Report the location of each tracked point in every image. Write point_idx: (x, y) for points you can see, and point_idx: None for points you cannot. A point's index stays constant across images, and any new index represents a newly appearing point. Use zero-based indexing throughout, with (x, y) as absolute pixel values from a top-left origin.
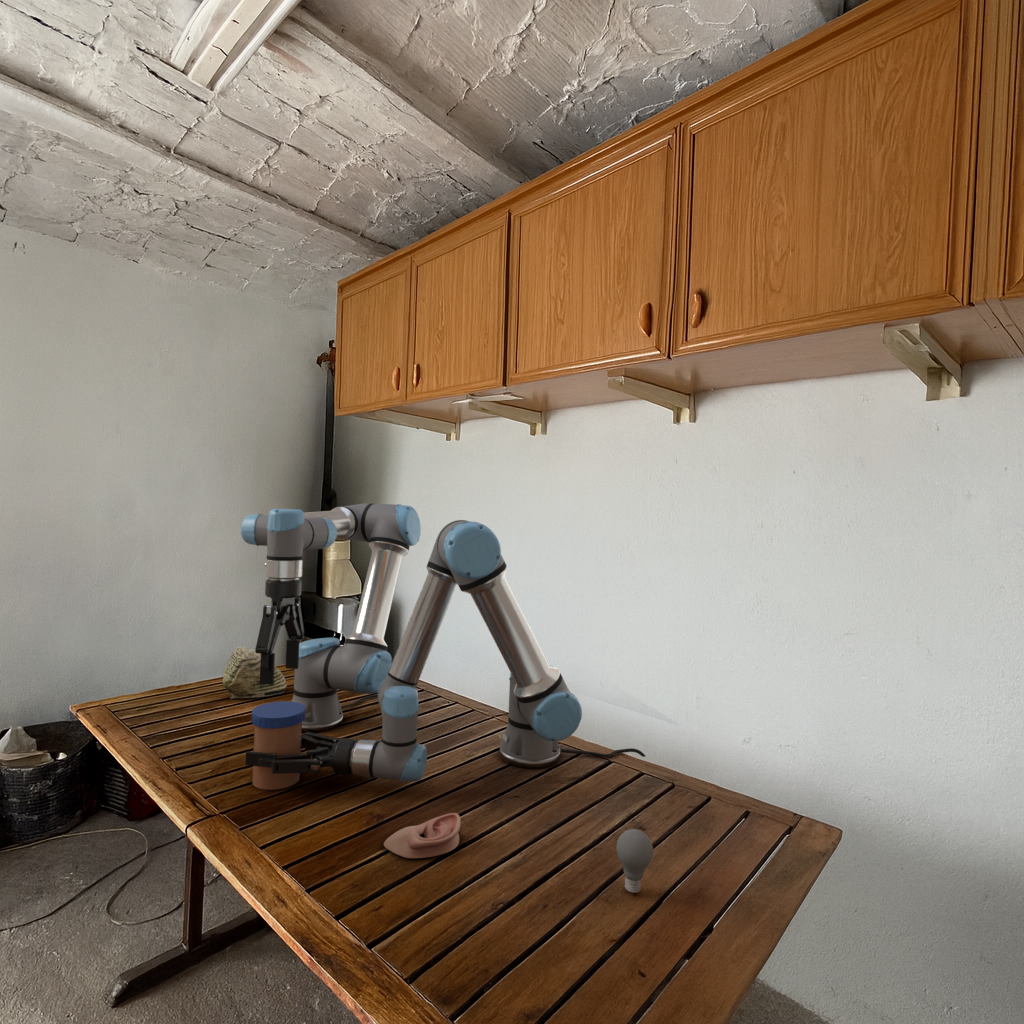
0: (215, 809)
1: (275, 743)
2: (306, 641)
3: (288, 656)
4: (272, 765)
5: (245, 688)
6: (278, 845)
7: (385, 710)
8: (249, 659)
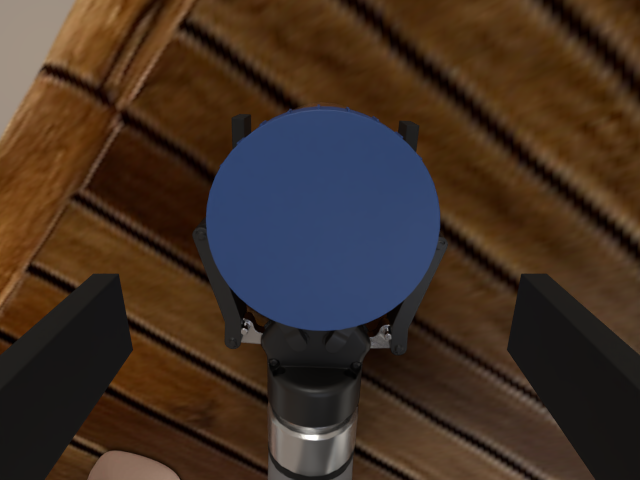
0: (133, 89)
1: None
2: None
3: (568, 343)
4: (196, 227)
5: None
6: (49, 294)
7: None
8: None
